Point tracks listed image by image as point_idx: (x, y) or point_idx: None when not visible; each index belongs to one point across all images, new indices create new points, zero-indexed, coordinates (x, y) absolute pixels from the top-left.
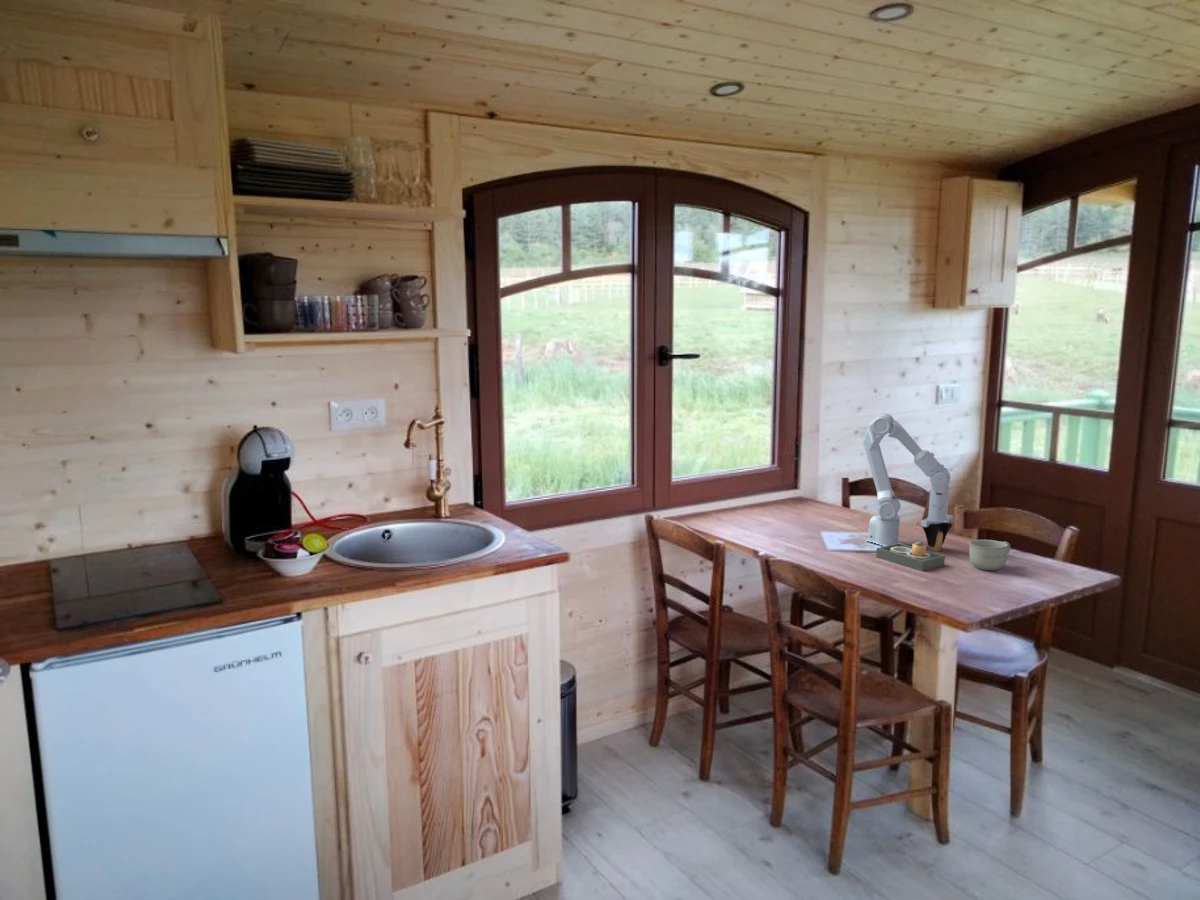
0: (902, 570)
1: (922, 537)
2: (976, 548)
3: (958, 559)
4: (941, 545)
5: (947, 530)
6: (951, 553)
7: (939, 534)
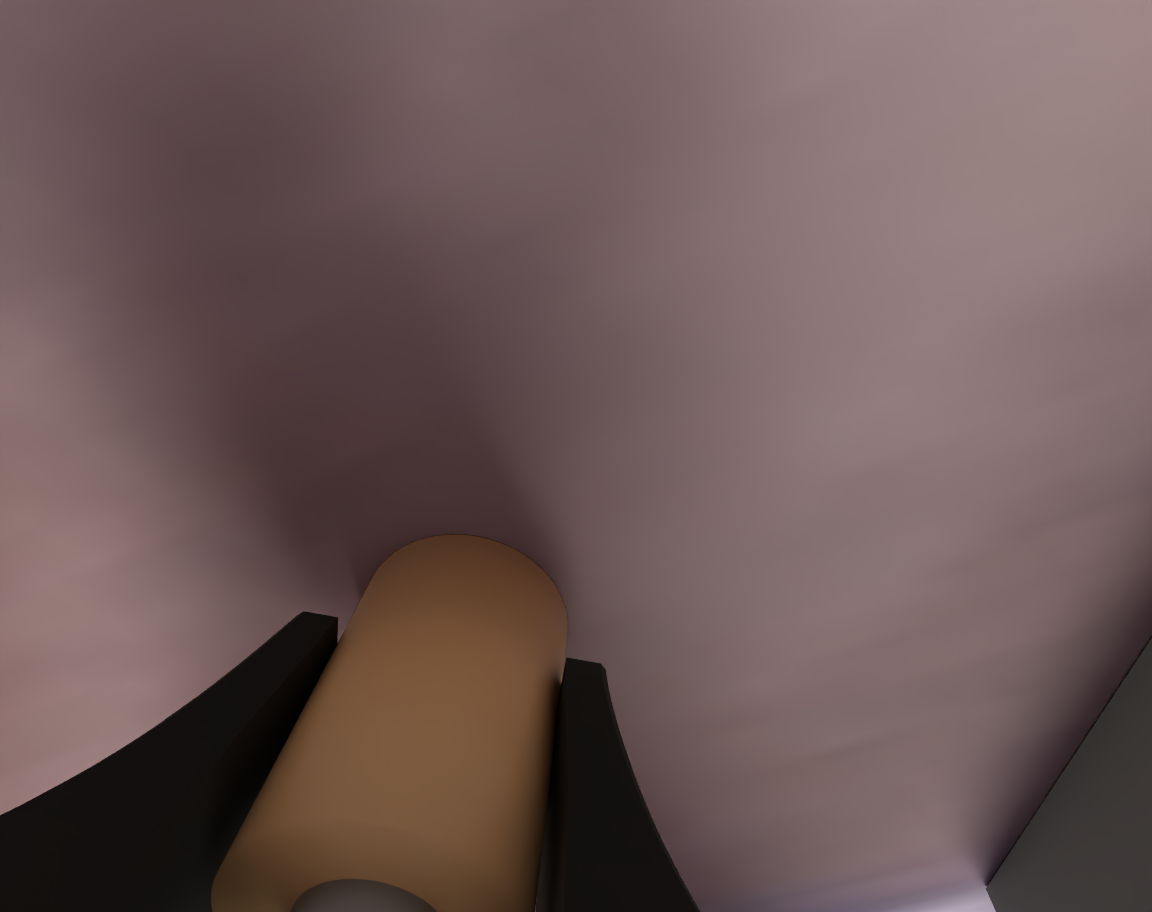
0: None
1: None
2: None
3: (774, 35)
4: (427, 597)
5: (82, 830)
6: (442, 350)
7: (460, 834)
